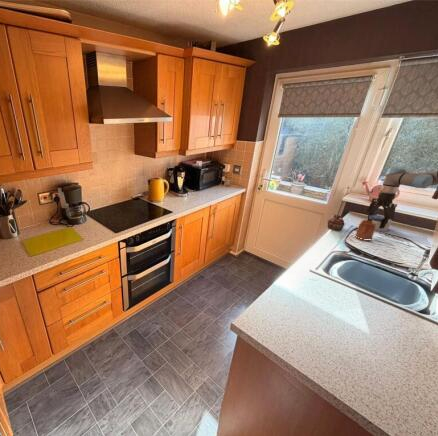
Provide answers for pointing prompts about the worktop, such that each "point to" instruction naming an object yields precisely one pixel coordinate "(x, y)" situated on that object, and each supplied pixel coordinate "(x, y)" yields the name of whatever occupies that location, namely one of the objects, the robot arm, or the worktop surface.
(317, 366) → the worktop surface
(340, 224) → the cupcake
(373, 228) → the jar
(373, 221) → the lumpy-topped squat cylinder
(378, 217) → the lid
